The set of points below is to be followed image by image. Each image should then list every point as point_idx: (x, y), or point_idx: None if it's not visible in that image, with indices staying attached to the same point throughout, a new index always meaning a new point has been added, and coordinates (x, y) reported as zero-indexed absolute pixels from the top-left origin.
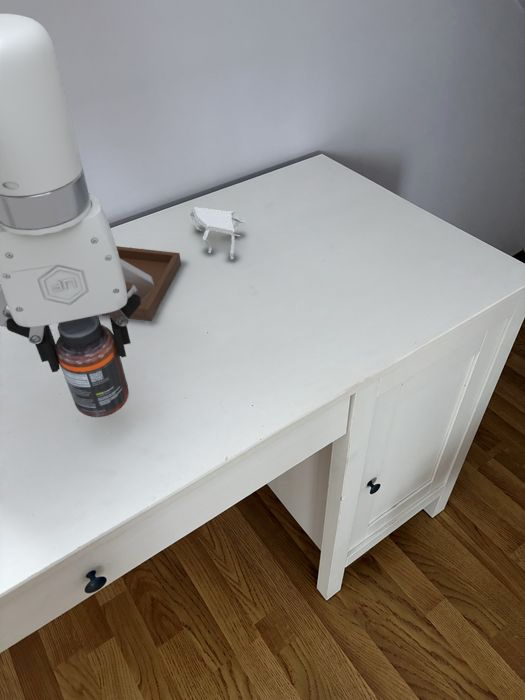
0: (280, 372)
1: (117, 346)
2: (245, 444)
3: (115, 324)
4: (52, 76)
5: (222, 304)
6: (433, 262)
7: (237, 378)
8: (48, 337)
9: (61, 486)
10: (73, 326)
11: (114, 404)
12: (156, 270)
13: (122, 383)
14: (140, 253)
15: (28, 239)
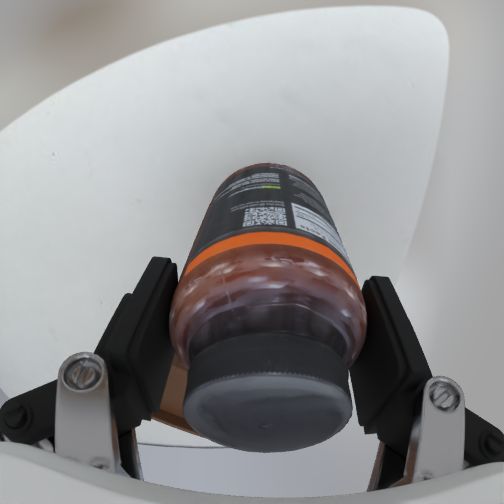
0: (20, 201)
1: (158, 291)
2: (74, 84)
3: (124, 372)
4: None
5: (85, 333)
6: None
7: (66, 210)
8: (390, 392)
9: (369, 109)
10: (291, 419)
11: (244, 172)
12: (161, 401)
13: (208, 210)
14: (176, 423)
15: None
